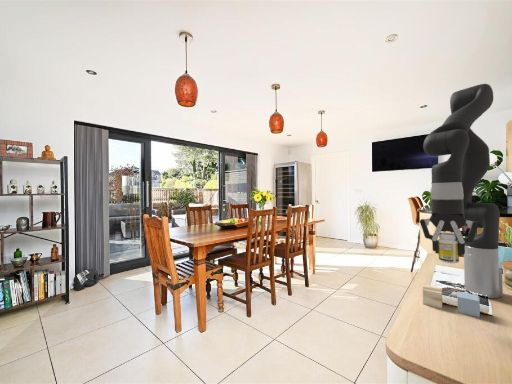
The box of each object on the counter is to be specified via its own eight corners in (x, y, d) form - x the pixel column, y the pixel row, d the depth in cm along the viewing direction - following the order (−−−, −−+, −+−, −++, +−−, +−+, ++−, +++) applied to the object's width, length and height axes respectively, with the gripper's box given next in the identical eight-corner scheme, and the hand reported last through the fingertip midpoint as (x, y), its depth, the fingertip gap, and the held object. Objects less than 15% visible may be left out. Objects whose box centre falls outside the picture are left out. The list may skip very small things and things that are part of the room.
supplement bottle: (451, 259, 72) (450, 231, 72) (463, 263, 68) (462, 234, 67) (434, 259, 73) (434, 232, 73) (445, 263, 68) (444, 235, 68)
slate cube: (457, 306, 77) (457, 291, 77) (478, 311, 74) (478, 295, 74) (457, 312, 73) (457, 296, 73) (479, 317, 70) (479, 301, 70)
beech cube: (424, 298, 83) (424, 284, 83) (442, 302, 79) (441, 288, 79) (423, 304, 79) (422, 289, 79) (441, 308, 76) (441, 293, 76)
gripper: (478, 197, 68) (479, 255, 68) (419, 197, 78) (420, 248, 78) (481, 198, 63) (482, 261, 63) (416, 198, 72) (418, 253, 72)
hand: (448, 253), depth 70 cm, fingers closed on supplement bottle, 4 cm apart
